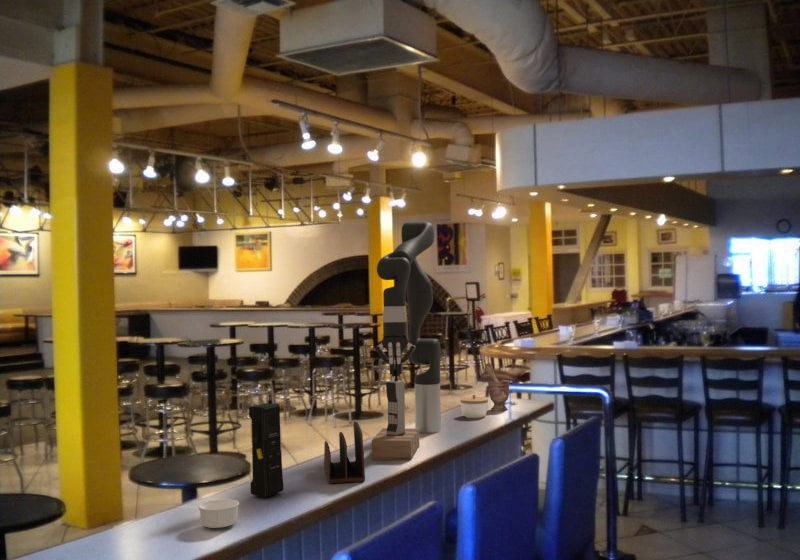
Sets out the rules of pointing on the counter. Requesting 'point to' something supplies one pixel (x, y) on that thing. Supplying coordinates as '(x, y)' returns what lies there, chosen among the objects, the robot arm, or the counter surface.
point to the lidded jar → (474, 407)
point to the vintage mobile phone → (396, 405)
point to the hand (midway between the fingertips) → (395, 375)
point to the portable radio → (266, 449)
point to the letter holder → (346, 460)
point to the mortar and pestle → (497, 390)
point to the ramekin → (219, 513)
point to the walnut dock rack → (395, 445)
